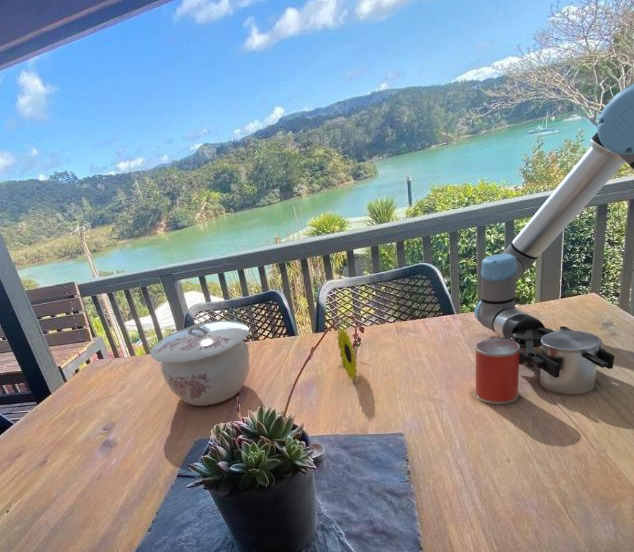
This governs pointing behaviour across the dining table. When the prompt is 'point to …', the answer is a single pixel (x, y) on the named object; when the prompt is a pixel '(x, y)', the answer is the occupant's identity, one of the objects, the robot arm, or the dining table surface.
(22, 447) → the dining table surface
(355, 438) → the dining table surface
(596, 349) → the steel pot
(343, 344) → the decorative plant
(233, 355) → the chamber pot
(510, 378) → the tin can
